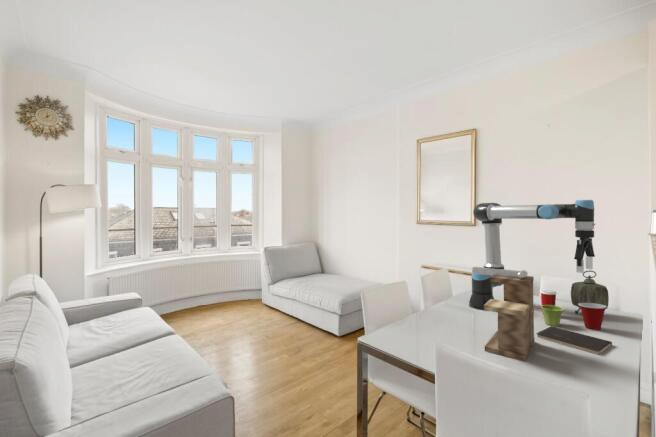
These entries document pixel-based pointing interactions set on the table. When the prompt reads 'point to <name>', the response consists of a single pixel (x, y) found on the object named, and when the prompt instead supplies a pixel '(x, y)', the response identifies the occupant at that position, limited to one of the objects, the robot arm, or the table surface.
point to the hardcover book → (574, 340)
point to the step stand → (513, 318)
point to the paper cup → (548, 297)
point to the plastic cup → (592, 315)
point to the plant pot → (552, 314)
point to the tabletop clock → (589, 292)
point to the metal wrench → (500, 272)
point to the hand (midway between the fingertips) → (584, 270)
